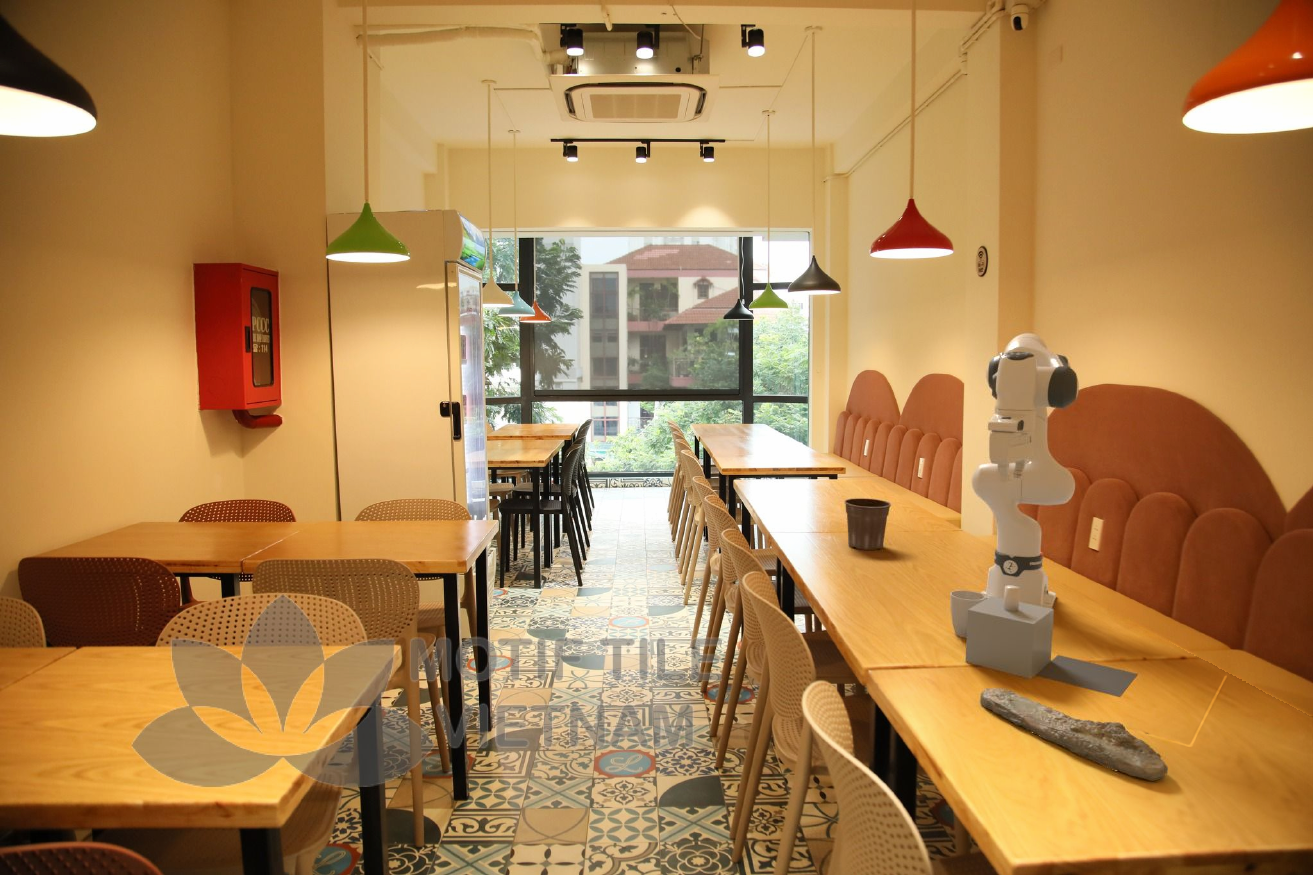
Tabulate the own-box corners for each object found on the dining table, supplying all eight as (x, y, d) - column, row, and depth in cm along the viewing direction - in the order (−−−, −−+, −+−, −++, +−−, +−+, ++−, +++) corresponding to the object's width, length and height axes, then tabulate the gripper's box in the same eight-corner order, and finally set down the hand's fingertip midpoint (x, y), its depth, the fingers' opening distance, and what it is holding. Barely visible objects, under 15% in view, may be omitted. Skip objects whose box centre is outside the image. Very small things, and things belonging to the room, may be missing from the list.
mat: (1057, 656, 183) (1057, 654, 183) (1137, 675, 173) (1137, 673, 173) (1035, 676, 172) (1035, 675, 172) (1119, 698, 161) (1119, 696, 161)
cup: (986, 641, 193) (988, 601, 192) (951, 639, 194) (953, 598, 193) (980, 630, 201) (982, 591, 200) (946, 628, 202) (947, 589, 201)
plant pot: (894, 552, 280) (896, 506, 279) (848, 551, 280) (850, 506, 279) (882, 541, 296) (884, 498, 295) (838, 541, 297) (839, 497, 295)
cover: (988, 647, 189) (991, 575, 187) (1050, 662, 180) (1055, 587, 178) (965, 663, 179) (969, 587, 177) (1030, 680, 170) (1035, 600, 168)
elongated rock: (1001, 702, 162) (967, 715, 158) (1000, 677, 162) (966, 689, 157) (1182, 773, 132) (1146, 791, 127) (1182, 742, 131) (1145, 759, 127)
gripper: (1015, 418, 198) (1012, 474, 199) (985, 423, 183) (982, 483, 184) (1042, 420, 194) (1039, 476, 195) (1013, 424, 179) (1010, 486, 180)
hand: (1011, 480), depth 190 cm, fingers open, 8 cm apart
